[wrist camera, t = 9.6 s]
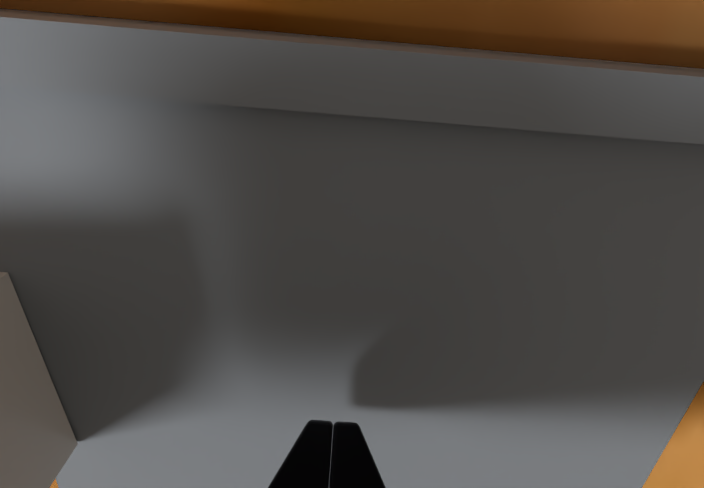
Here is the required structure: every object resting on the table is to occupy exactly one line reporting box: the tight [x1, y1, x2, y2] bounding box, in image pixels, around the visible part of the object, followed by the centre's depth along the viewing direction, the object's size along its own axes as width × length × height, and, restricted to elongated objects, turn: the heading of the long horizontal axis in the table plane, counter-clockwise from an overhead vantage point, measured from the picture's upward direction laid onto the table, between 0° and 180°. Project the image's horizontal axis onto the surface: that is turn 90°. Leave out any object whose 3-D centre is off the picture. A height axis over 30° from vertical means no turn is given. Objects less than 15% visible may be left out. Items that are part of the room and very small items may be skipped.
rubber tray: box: [0, 8, 704, 488], centre depth 9 cm, size 12×12×1 cm
